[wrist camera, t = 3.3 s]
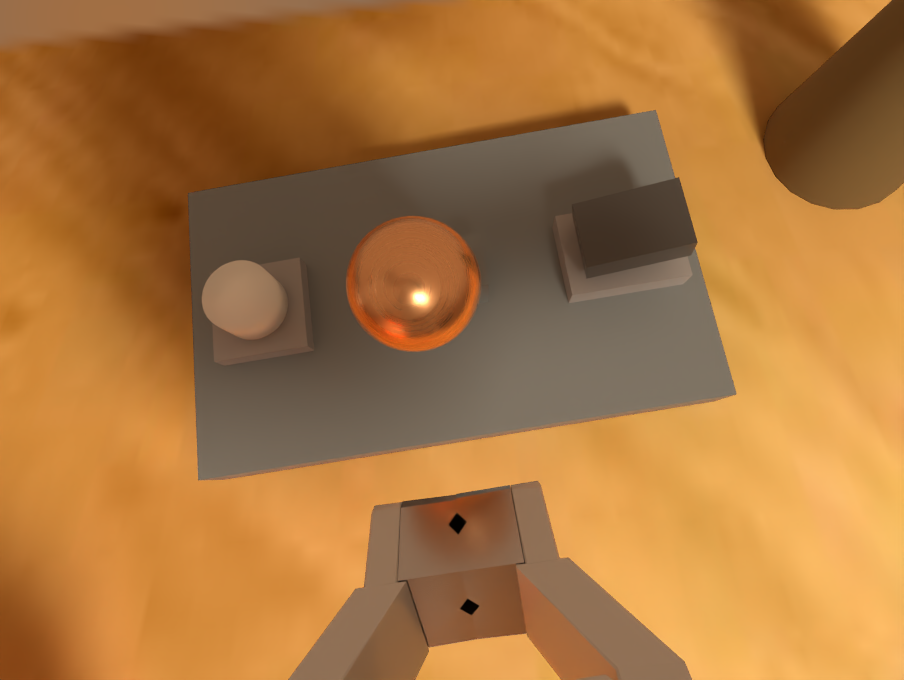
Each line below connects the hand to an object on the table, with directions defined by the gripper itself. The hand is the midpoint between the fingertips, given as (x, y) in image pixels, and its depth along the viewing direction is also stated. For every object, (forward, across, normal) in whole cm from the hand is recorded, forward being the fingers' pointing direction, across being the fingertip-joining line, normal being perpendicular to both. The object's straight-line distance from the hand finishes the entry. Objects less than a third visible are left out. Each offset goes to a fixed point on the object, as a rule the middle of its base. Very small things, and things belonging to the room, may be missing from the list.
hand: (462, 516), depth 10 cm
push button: (+12, +7, 0) cm, 14 cm away
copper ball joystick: (+12, 0, 0) cm, 12 cm away
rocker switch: (+11, -7, 0) cm, 13 cm away
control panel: (+14, 0, +3) cm, 14 cm away
